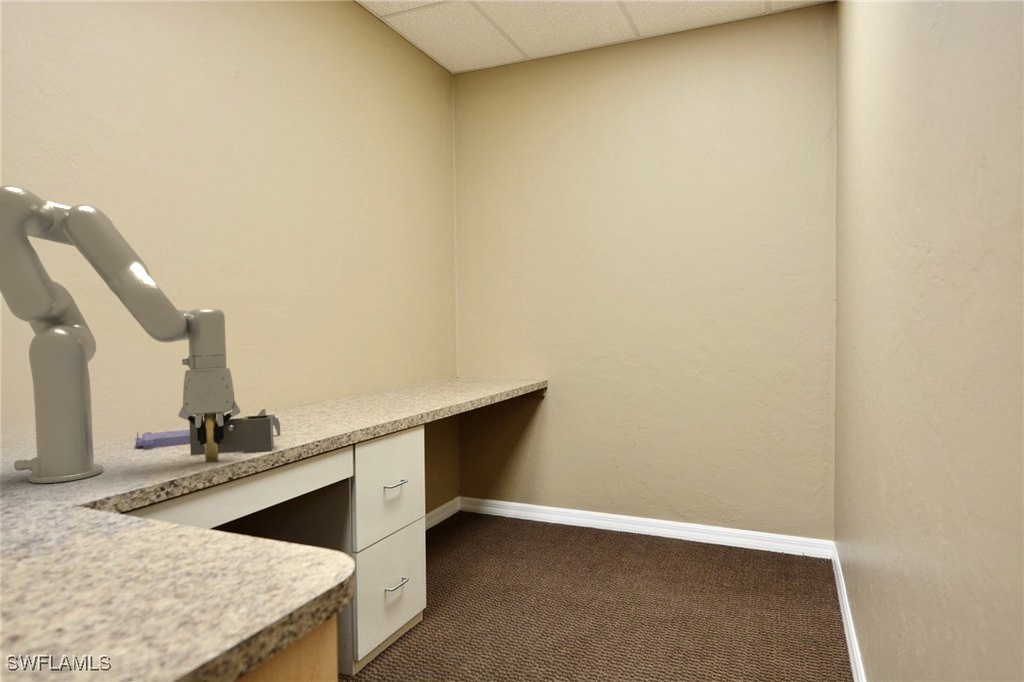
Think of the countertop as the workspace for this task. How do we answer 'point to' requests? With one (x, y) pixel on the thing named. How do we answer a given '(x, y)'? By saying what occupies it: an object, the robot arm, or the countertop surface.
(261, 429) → the hinge
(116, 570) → the countertop surface
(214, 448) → the pin
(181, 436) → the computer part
